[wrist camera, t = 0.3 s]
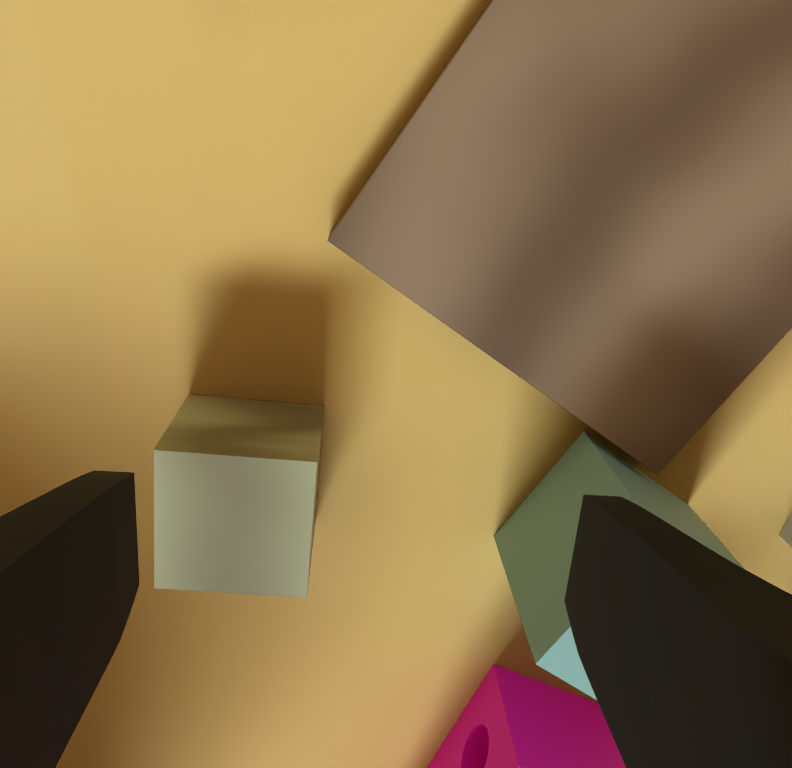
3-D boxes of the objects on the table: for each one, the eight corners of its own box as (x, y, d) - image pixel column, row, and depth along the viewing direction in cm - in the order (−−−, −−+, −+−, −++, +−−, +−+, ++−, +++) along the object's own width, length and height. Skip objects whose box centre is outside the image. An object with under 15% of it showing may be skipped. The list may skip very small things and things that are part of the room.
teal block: (687, 503, 24) (791, 622, 18) (596, 600, 25) (667, 741, 19) (583, 430, 22) (658, 532, 17) (493, 535, 24) (535, 664, 18)
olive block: (324, 404, 22) (317, 462, 18) (315, 520, 23) (306, 597, 19) (189, 393, 22) (153, 450, 18) (187, 512, 23) (154, 588, 19)
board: (1057, 2, 19) (1094, -4, 18) (645, 460, 23) (657, 474, 22) (735, -356, 16) (759, -386, 15) (329, 235, 20) (327, 240, 19)
